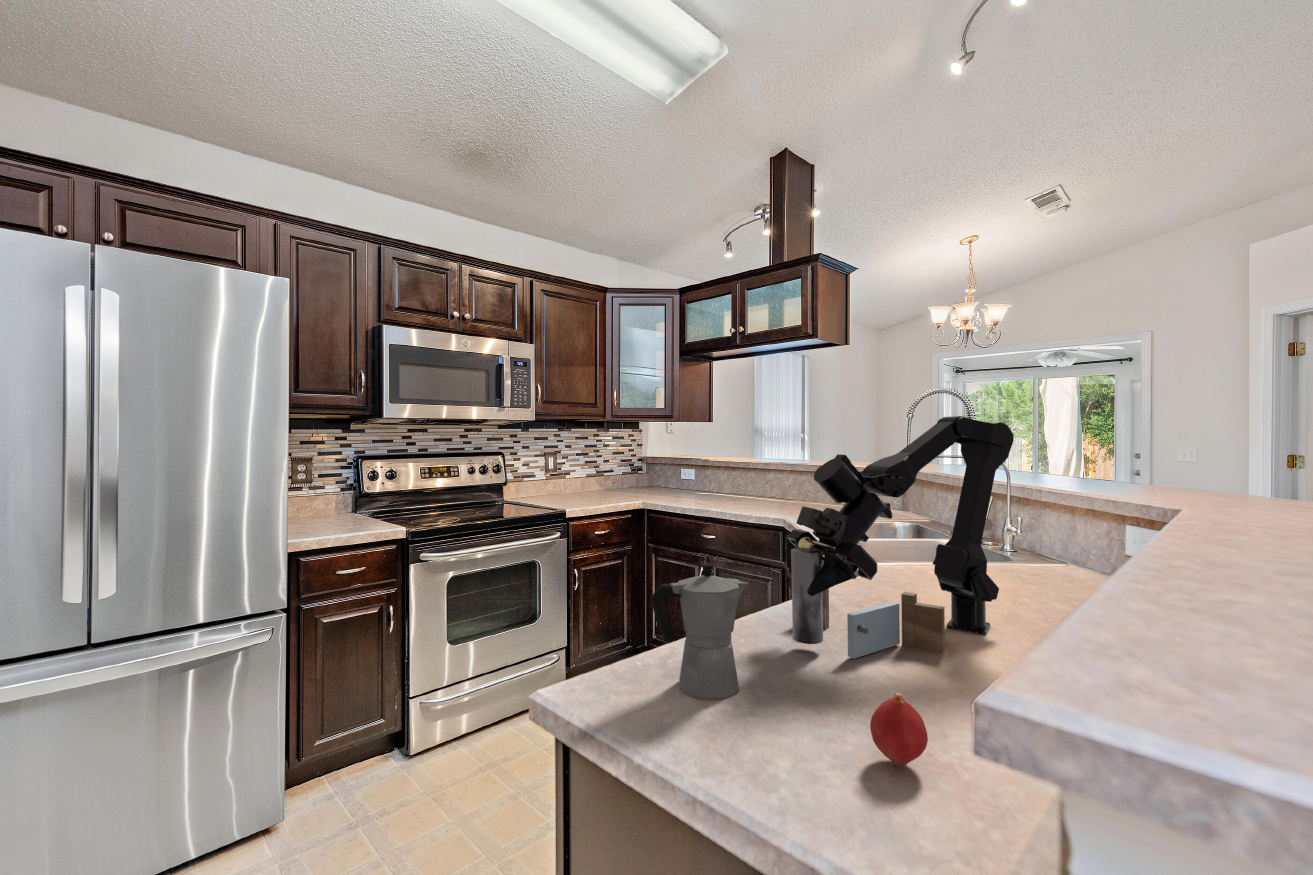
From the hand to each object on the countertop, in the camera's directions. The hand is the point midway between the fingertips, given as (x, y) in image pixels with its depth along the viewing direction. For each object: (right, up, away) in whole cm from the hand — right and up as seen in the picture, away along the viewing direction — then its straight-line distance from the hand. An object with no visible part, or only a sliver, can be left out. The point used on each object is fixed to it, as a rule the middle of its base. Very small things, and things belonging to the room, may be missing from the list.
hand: (800, 590), depth 95 cm
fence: (+14, -10, +7) cm, 19 cm away
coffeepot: (-18, -11, -13) cm, 25 cm away
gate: (+13, -10, -1) cm, 16 cm away
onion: (+3, -11, -33) cm, 35 cm away
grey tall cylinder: (+1, -8, 0) cm, 9 cm away
